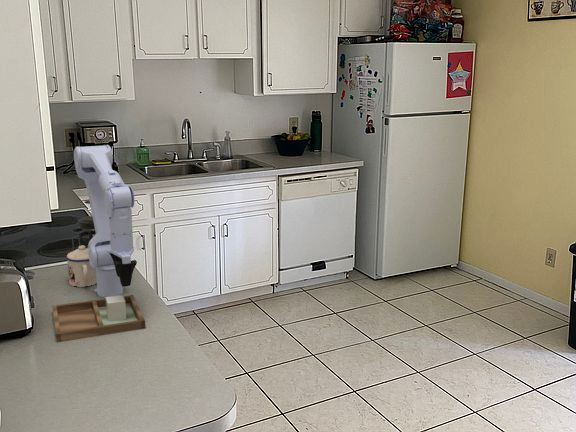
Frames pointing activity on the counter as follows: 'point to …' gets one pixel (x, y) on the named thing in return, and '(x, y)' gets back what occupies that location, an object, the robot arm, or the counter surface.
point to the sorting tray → (94, 319)
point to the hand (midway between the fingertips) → (123, 280)
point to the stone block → (115, 308)
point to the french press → (85, 224)
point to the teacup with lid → (80, 268)
